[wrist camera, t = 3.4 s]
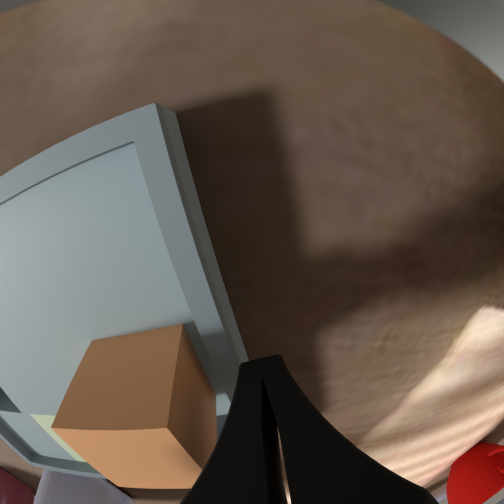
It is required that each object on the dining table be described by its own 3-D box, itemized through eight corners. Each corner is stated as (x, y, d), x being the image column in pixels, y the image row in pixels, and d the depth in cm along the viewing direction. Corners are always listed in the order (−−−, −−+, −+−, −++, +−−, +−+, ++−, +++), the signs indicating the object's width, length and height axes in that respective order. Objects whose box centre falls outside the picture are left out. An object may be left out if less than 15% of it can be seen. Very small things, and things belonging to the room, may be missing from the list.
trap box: (272, 426, 17) (280, 469, 13) (41, 436, 17) (30, 465, 14) (175, 112, 10) (155, 102, 7) (-77, 249, 10) (-107, 269, 7)
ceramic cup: (520, 400, 25) (551, 441, 15) (479, 455, 31) (499, 490, 22) (461, 439, 24) (492, 493, 15) (423, 486, 31) (442, 528, 21)
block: (216, 394, 12) (218, 486, 7) (134, 405, 12) (117, 486, 8) (182, 323, 10) (166, 427, 6) (91, 340, 10) (50, 427, 6)
